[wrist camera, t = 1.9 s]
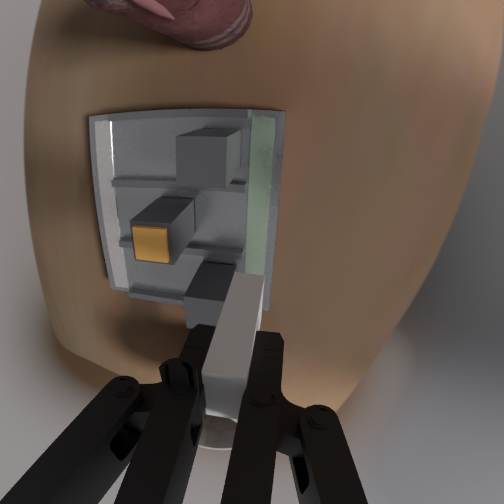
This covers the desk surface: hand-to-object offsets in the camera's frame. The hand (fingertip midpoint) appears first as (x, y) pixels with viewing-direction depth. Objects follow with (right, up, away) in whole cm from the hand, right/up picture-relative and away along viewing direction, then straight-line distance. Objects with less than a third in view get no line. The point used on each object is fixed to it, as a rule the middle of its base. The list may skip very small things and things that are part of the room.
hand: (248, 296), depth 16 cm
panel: (-6, +6, +10) cm, 13 cm away
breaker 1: (-2, +10, +6) cm, 11 cm away
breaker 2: (-3, 0, +11) cm, 11 cm away
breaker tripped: (-6, +5, +8) cm, 11 cm away
